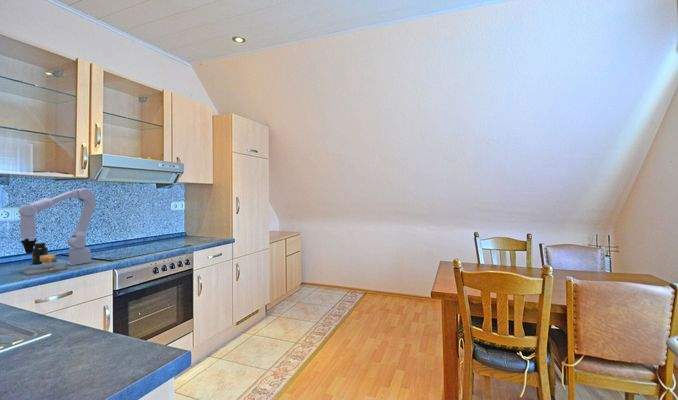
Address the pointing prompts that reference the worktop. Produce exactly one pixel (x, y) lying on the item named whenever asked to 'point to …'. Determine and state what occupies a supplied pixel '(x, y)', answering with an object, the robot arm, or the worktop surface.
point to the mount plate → (44, 268)
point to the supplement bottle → (38, 252)
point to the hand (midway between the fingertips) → (28, 253)
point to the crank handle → (48, 258)
